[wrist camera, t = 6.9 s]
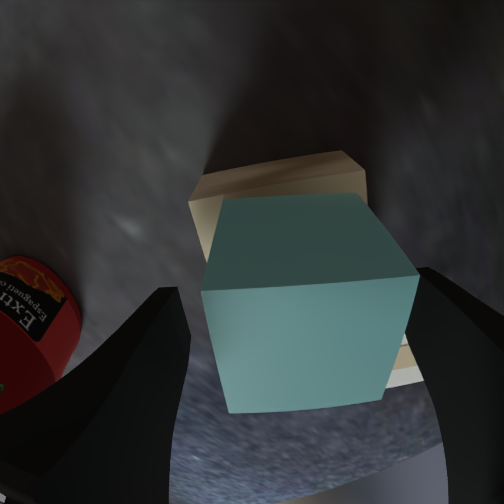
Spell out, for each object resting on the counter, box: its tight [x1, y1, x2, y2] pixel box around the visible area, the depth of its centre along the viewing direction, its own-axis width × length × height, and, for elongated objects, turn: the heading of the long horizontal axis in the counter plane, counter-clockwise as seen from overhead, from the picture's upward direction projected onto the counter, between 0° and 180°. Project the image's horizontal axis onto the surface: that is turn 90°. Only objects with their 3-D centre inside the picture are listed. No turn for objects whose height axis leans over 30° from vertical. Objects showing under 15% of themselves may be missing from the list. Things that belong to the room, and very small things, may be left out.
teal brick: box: [201, 193, 420, 413], centre depth 9 cm, size 4×4×5 cm
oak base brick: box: [188, 150, 368, 261], centre depth 13 cm, size 6×6×4 cm
